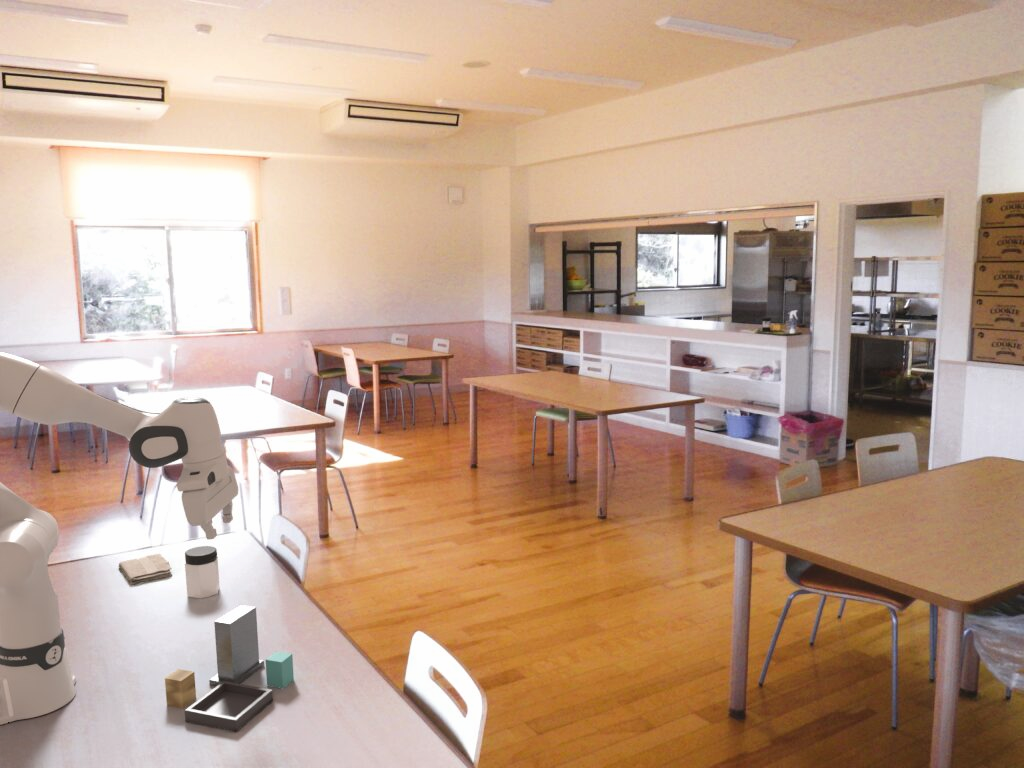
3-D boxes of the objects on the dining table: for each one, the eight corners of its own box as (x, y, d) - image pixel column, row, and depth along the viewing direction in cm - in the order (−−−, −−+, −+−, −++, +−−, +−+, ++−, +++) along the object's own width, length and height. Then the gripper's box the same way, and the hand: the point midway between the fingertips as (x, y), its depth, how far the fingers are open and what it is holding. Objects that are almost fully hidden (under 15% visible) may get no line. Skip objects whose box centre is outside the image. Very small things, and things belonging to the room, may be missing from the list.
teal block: (267, 685, 177) (265, 659, 176) (277, 676, 181) (276, 651, 180) (283, 688, 176) (281, 662, 175) (293, 679, 180) (292, 653, 179)
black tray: (185, 721, 163) (184, 710, 163) (224, 692, 175) (223, 680, 174) (236, 732, 160) (235, 720, 159) (273, 701, 171) (272, 689, 170)
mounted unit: (209, 684, 178) (205, 622, 175) (241, 661, 188) (237, 602, 186) (233, 689, 176) (229, 626, 174) (264, 665, 186) (260, 605, 184)
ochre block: (166, 705, 170) (164, 678, 169) (180, 695, 173) (178, 669, 172) (182, 708, 168) (180, 681, 167) (196, 698, 172) (194, 671, 171)
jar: (217, 597, 224) (214, 555, 222) (185, 600, 222) (182, 557, 221) (221, 585, 233) (218, 544, 231) (190, 587, 231) (187, 546, 229)
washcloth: (131, 587, 233) (130, 577, 233) (117, 569, 247) (116, 559, 247) (175, 577, 240) (174, 567, 240) (159, 560, 254) (158, 550, 254)
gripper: (211, 457, 189) (224, 514, 192) (172, 487, 169) (187, 549, 172) (238, 454, 189) (250, 511, 191) (202, 483, 169) (216, 546, 171)
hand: (220, 529), depth 181 cm, fingers open, 8 cm apart
